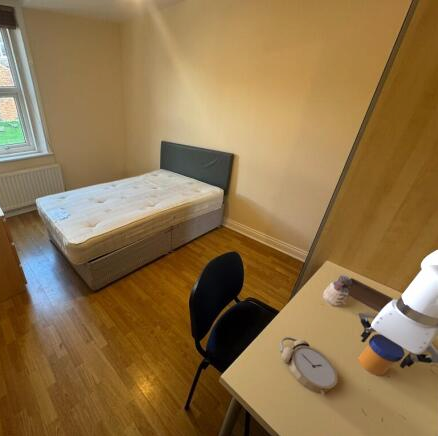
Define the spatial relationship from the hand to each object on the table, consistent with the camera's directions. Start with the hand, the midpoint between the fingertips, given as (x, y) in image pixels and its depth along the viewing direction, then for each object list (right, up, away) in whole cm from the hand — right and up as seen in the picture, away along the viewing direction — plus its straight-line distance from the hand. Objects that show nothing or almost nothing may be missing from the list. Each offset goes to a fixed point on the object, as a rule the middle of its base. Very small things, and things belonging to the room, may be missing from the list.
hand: (382, 351), depth 65 cm
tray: (+19, +7, +26) cm, 33 cm away
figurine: (+6, +6, +24) cm, 26 cm away
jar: (0, -6, +3) cm, 7 cm away
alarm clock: (-20, -7, +4) cm, 21 cm away
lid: (0, +2, -1) cm, 3 cm away
